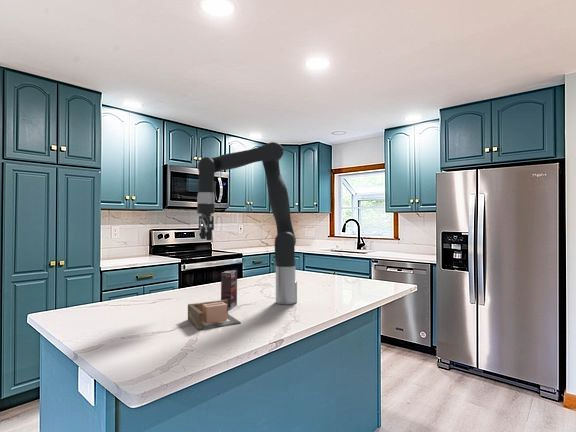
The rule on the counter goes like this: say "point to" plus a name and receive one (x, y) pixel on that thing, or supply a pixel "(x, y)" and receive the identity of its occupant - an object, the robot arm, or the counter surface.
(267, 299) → the counter surface
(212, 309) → the terracotta block
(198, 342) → the counter surface
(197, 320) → the arena
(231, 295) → the supplement box
